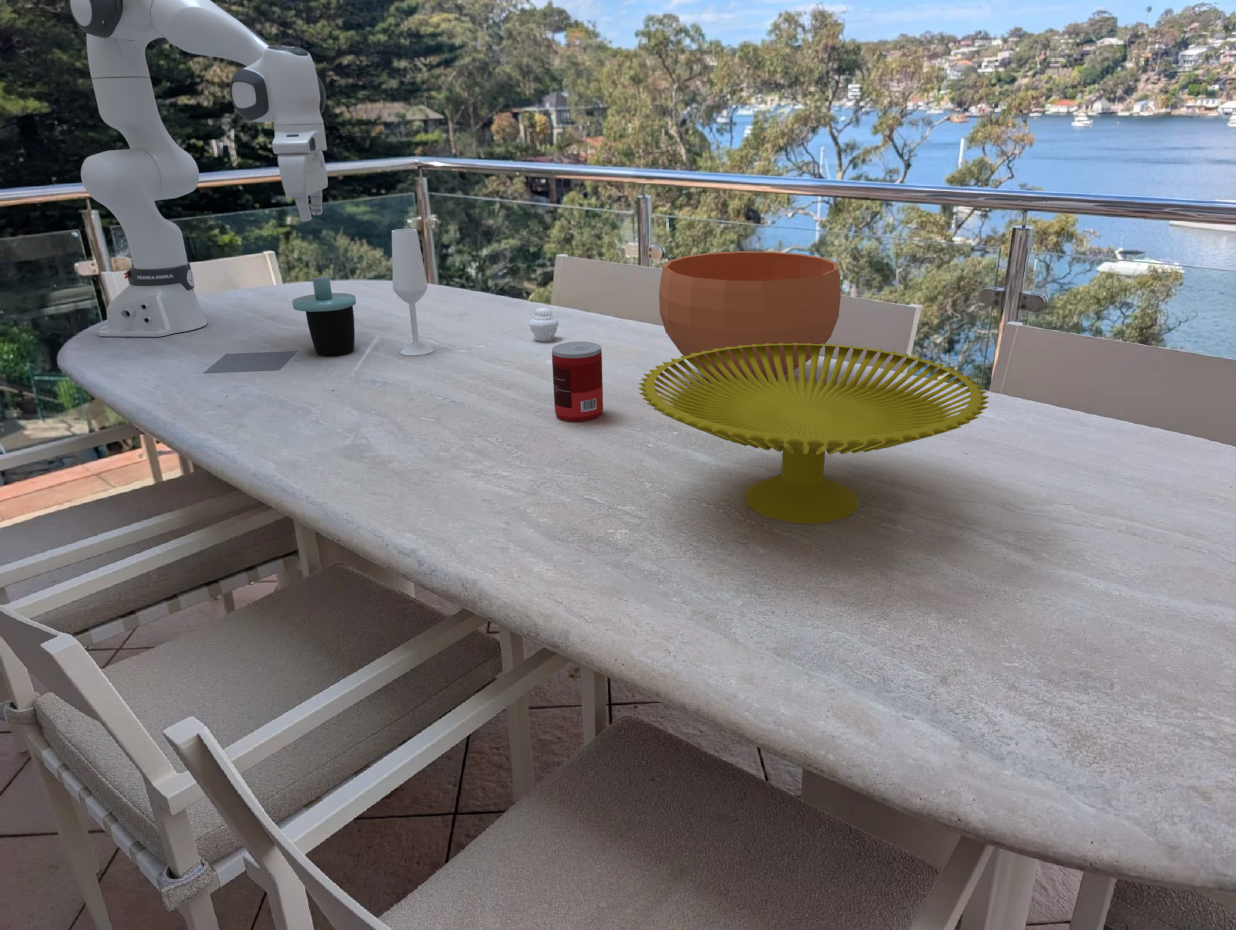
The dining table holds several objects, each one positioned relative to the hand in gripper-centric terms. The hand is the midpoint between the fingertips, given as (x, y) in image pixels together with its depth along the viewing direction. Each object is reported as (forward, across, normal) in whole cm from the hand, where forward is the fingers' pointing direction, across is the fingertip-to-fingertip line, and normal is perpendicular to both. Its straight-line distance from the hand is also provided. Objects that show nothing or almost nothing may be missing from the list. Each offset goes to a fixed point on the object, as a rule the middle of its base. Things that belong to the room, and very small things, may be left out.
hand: (312, 217), depth 174 cm
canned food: (+27, +45, +48) cm, 71 cm away
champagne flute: (+27, 0, +17) cm, 32 cm away
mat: (+27, +6, -14) cm, 31 cm away
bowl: (+27, +32, +78) cm, 89 cm away
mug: (+27, 0, 0) cm, 27 cm away
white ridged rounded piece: (+27, -5, +43) cm, 51 cm away
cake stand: (+27, +82, +74) cm, 114 cm away
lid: (+17, 0, 0) cm, 17 cm away
